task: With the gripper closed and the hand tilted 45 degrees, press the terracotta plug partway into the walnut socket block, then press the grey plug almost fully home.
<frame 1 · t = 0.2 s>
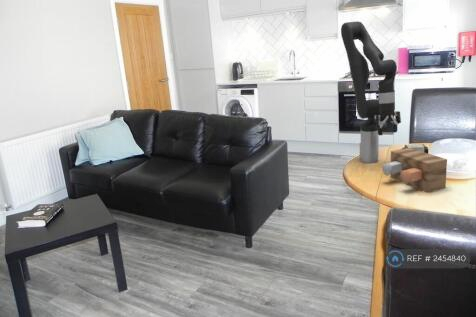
hand: (387, 133, 202), 18 cm above the table, tool pointing down, fingers open, 8 cm apart
terracotta plug: (415, 174, 175), point 7 cm above the table, slide at 0.0 cm
grey plug: (396, 166, 186), point 7 cm above the table, slide at 0.0 cm
socket block: (416, 182, 185), on the table
pneumatic valve: (414, 166, 205), on the table
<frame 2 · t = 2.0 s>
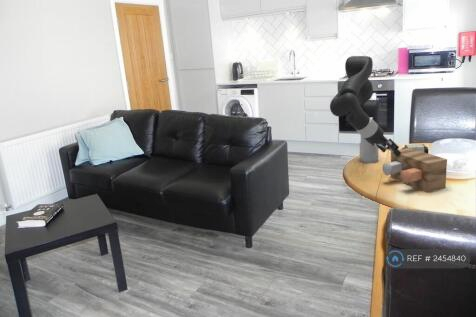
hand: (391, 152, 168), 19 cm above the table, tool tilted 45°, fingers open, 8 cm apart
nothing on the table moved.
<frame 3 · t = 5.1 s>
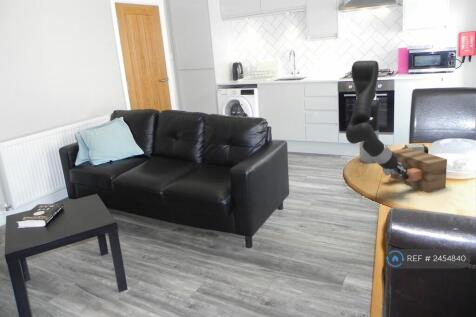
hand: (406, 177, 174), 6 cm above the table, tool tilted 45°, fingers closed
terracotta plug: (418, 173, 176), point 7 cm above the table, slide at 1.4 cm, touching gripper
everything else where it was.
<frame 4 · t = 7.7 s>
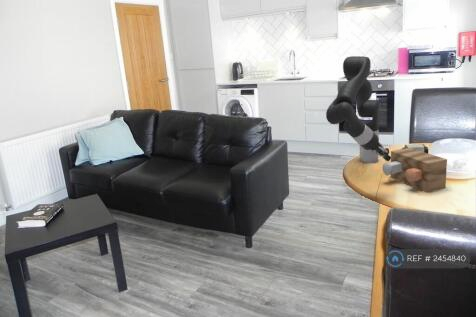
hand: (388, 159, 172), 15 cm above the table, tool tilted 45°, fingers closed
terracotta plug: (420, 173, 176), point 7 cm above the table, slide at 2.5 cm
everything else where it was.
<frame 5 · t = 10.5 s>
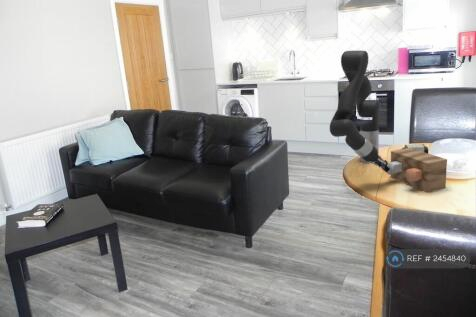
hand: (387, 170, 185), 6 cm above the table, tool tilted 45°, fingers closed
grey plug: (398, 166, 186), point 7 cm above the table, slide at 1.3 cm, touching gripper
everything else where it was.
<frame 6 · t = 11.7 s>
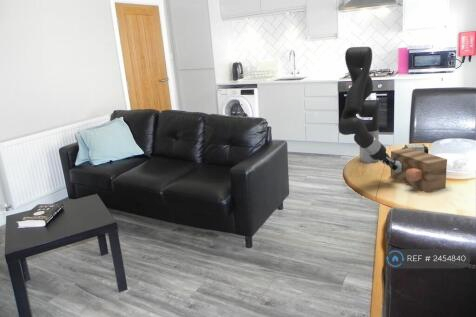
hand: (395, 168, 186), 6 cm above the table, tool tilted 45°, fingers closed
grey plug: (405, 164, 188), point 7 cm above the table, slide at 5.5 cm, touching gripper
everything else where it was.
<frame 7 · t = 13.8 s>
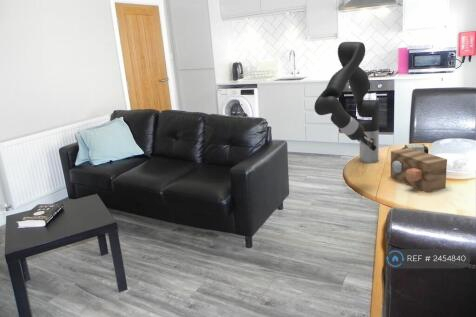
hand: (374, 148, 183), 17 cm above the table, tool tilted 45°, fingers closed
grey plug: (405, 164, 188), point 7 cm above the table, slide at 5.5 cm
everything else where it was.
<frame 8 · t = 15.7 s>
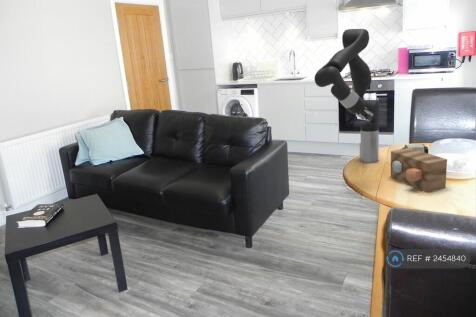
hand: (374, 123, 182), 28 cm above the table, tool tilted 45°, fingers closed
nothing on the table moved.
at the end: grey plug slide at 5.5 cm; terracotta plug slide at 2.5 cm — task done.
